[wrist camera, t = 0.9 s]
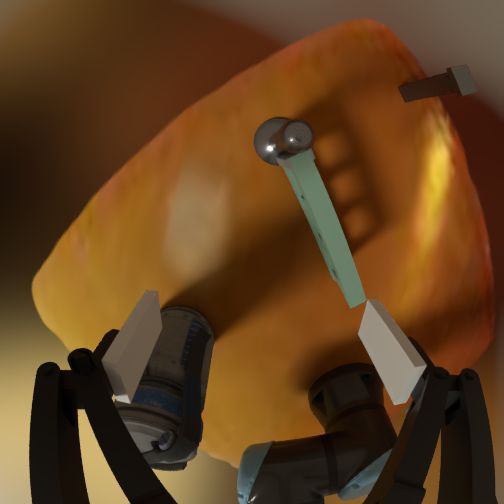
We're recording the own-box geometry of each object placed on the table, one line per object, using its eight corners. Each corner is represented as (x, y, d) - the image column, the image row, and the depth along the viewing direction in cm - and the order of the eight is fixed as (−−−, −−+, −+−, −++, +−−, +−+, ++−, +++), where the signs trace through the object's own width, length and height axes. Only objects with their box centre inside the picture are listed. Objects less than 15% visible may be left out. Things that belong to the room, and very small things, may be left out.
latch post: (419, 100, 29) (477, 91, 17) (404, 105, 30) (462, 95, 18) (410, 80, 28) (466, 64, 16) (394, 85, 29) (450, 67, 17)
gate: (275, 157, 32) (285, 159, 23) (294, 148, 31) (311, 148, 23) (328, 275, 37) (348, 309, 29) (344, 267, 37) (368, 299, 29)
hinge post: (310, 153, 33) (351, 156, 19) (267, 173, 33) (280, 188, 20) (289, 111, 31) (317, 85, 17) (245, 131, 31) (243, 115, 18)
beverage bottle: (239, 324, 41) (234, 477, 18) (184, 363, 44) (155, 492, 21) (190, 279, 38) (134, 431, 15) (139, 326, 41) (79, 453, 18)
